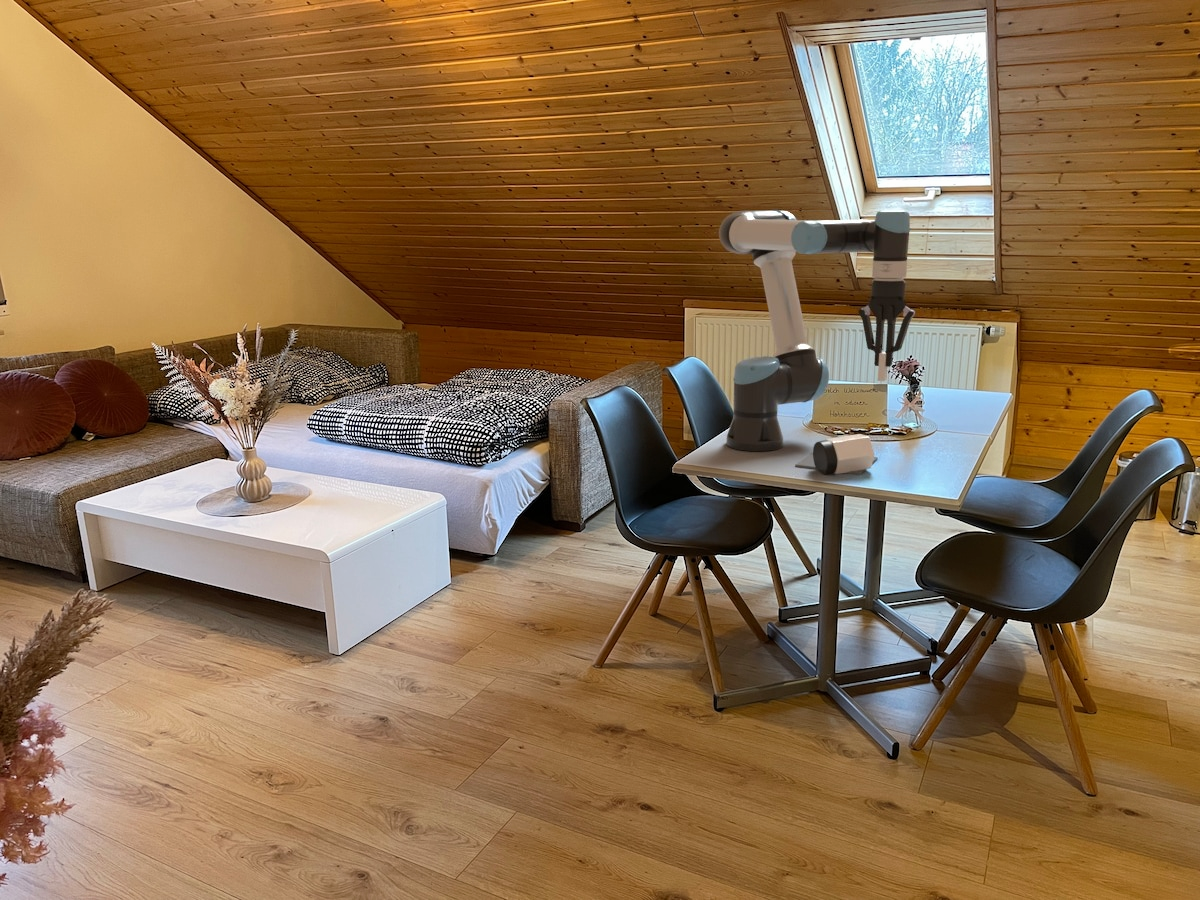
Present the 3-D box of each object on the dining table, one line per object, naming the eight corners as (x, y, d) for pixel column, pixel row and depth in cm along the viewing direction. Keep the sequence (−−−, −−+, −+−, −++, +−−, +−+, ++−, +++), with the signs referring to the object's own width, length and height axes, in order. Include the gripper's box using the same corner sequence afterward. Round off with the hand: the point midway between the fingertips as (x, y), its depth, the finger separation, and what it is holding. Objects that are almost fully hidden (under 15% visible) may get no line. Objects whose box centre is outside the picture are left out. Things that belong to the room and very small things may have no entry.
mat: (795, 466, 222) (795, 464, 222) (815, 452, 235) (815, 450, 235) (860, 474, 214) (860, 472, 213) (877, 459, 227) (877, 457, 227)
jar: (862, 426, 217) (815, 433, 215) (877, 447, 211) (830, 455, 209) (855, 453, 223) (810, 461, 221) (869, 475, 217) (823, 483, 215)
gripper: (856, 279, 208) (850, 380, 214) (914, 281, 202) (906, 384, 208) (864, 277, 214) (859, 375, 220) (921, 279, 208) (913, 379, 214)
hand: (882, 379), depth 214 cm, fingers closed
